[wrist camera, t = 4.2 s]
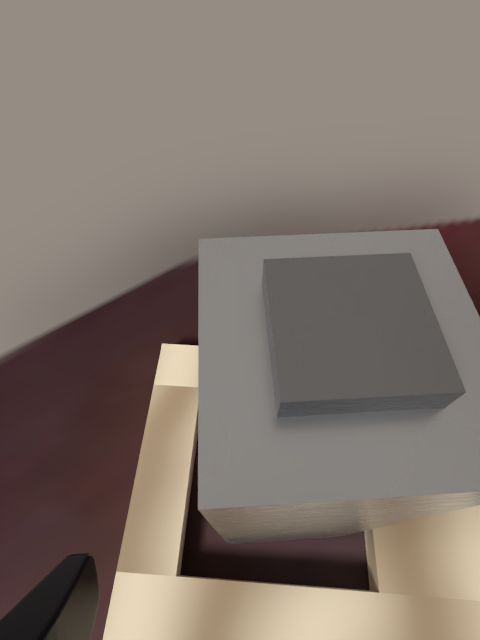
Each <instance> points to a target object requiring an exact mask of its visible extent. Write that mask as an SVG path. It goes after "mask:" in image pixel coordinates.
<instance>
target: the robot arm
mask: <svg viewBox="0 0 480 640" xmlns="http://www.w3.org/2000/svg"><path fill="white" fill-rule="evenodd" d="M98 603H99V585H98V578H97V572H96V565H95V560H94V557H93V555H92V554H89V553H86V554H72V555H69V556H68V557H66V558H65V559H64V560H63V561H62V562H61V563H60V564H59V565H58V566H56V567H55V568H54V569H53V570H52V571H51V572H50V573H49V574H48V575H47V576H46V577H45V578H44V579H43V580H42V581H41V582H40V583H39V584H38V585H37V586H36V587H35V588H34V589H33V590H31V591H30V592H29V593H28V594H27V595H26V596H25V597H24V598H23V599H22V600H21V601H20V602H19V603H18V604H17V605H16V606H15V607H14V608H13V609H12V610H11V611H10V612H9V613H7V614H6V615H5V616H4V617H3V618H2V619H1V620H0V640H90V639H91V635H92V630H93V626H94V622H95V617H96V613H97V608H98Z"/></svg>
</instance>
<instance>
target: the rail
mask: <svg viewBox="0 0 480 640" xmlns="http://www.w3.org/2000/svg"><path fill="white" fill-rule="evenodd" d="M197 437H198V346H195V345H177V344H162V347H161V352H160V357H159V362H158V367H157V372H156V377H155V382H154V387H153V392H152V397H151V402H150V407H149V412H148V417H147V422H146V427H145V432H144V437H143V442H142V447H141V452H140V457H139V462H138V467H137V472H136V477H135V482H134V487H133V492H132V497H131V501H130V506H129V511H128V516H127V521H126V526H125V531H124V536H123V541H122V546H121V551H120V556H119V561H118V566H117V571H116V576H115V581H114V586H113V591H112V596H111V601H110V606H109V611H108V616H107V621H106V626H105V631H104V636H103V640H480V505H477V506H473V507H468V508H464V509H460V510H455V511H451V512H446V513H442V514H437V515H433V516H429V517H424V518H420V519H415V520H411V521H406V522H402V523H398V524H393V525H389V526H384V527H380V528H375V529H371V530H367V531H364V534H365V545H366V555H367V565H368V576H369V586H370V590H358V589H346V588H333V587H321V586H308V585H296V584H283V583H271V582H258V581H246V580H233V579H221V578H208V577H196V576H184V575H180V574H181V566H182V558H183V550H184V541H185V533H186V525H187V517H188V509H189V501H190V493H191V485H192V477H193V469H194V461H195V453H196V445H197Z"/></svg>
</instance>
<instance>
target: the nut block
mask: <svg viewBox="0 0 480 640" xmlns="http://www.w3.org/2000/svg"><path fill="white" fill-rule="evenodd" d="M477 505H480V317H479V315H478V313H477V311H476V308H475V306H474V304H473V302H472V300H471V298H470V296H469V294H468V292H467V289H466V287H465V285H464V283H463V281H462V279H461V277H460V275H459V273H458V270H457V268H456V266H455V264H454V262H453V260H452V258H451V256H450V253H449V251H448V249H447V247H446V245H445V243H444V241H443V239H442V237H441V234H440V232H439V230H438V229H426V230H402V231H378V232H354V233H330V234H307V235H284V236H283V235H282V236H258V237H236V238H235V237H234V238H211V239H199V329H198V510H199V511H200V512H201V514H202V515H203V516H204V517H205V518H206V519H207V521H208V522H209V523H210V524H211V525H212V526H213V528H214V529H215V530H216V531H217V532H218V533H219V535H220V536H221V537H222V538H223V539H224V540H225V542H226V543H227V544H239V543H254V542H270V541H285V540H300V539H316V538H331V537H340V536H345V535H349V534H353V533H358V532H362V531H367V530H371V529H375V528H380V527H384V526H389V525H393V524H398V523H402V522H406V521H411V520H415V519H420V518H424V517H429V516H433V515H437V514H442V513H446V512H451V511H455V510H460V509H464V508H468V507H473V506H477Z"/></svg>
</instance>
